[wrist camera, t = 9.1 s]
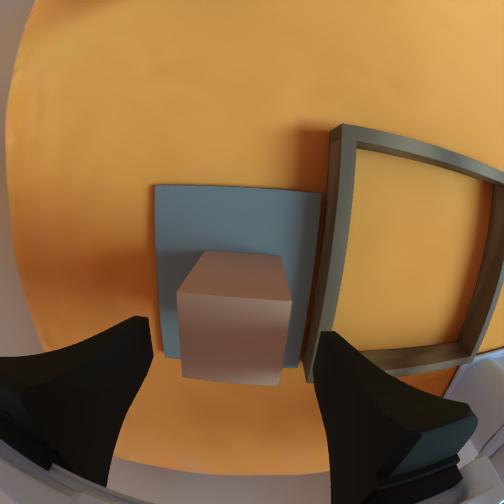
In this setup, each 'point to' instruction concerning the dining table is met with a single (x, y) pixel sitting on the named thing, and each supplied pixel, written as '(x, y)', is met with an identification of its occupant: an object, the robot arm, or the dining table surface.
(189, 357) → the block
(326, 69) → the dining table surface
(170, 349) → the mat
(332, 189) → the grey square frame
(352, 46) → the dining table surface
